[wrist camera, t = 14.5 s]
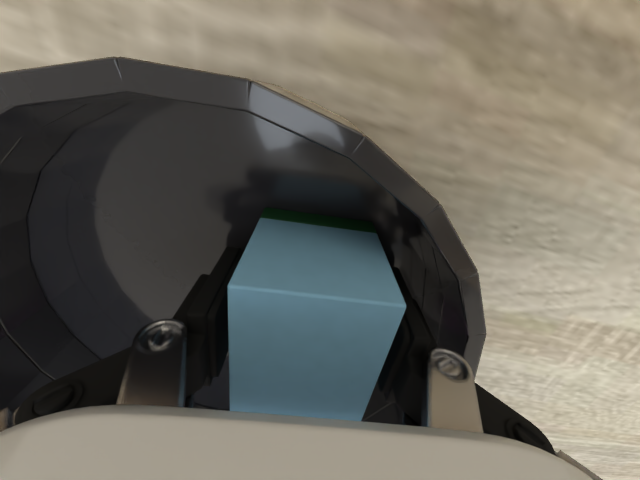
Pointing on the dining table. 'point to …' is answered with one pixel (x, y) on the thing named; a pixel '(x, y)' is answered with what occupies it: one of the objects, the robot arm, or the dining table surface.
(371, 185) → the pan
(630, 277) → the dining table surface
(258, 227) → the sponge
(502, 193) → the dining table surface
